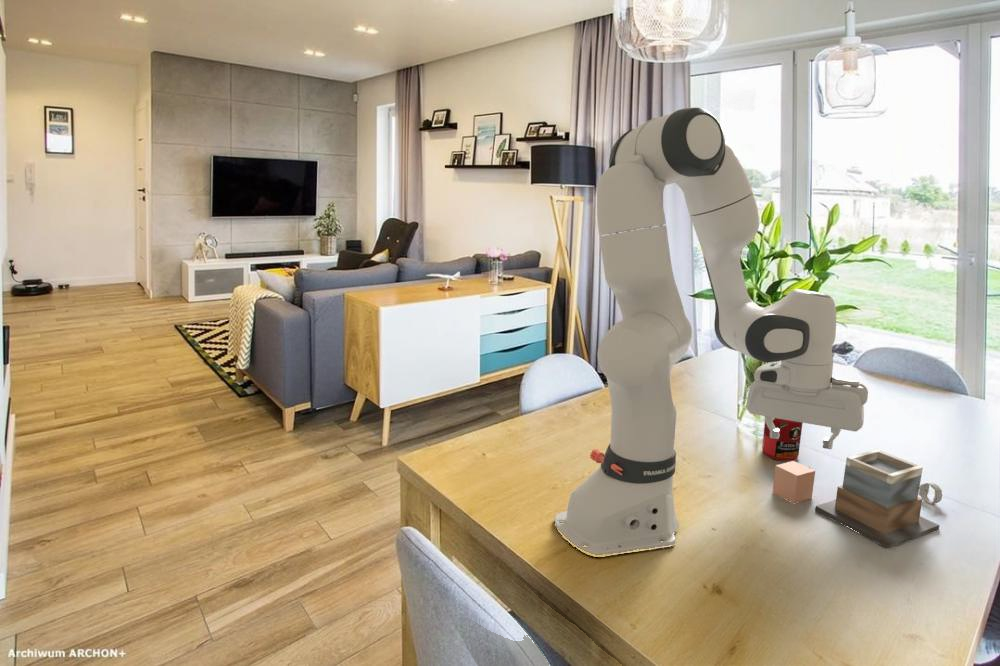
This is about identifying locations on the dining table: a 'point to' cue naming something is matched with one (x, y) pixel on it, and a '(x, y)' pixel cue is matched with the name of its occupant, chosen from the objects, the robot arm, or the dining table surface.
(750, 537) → the dining table surface
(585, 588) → the dining table surface
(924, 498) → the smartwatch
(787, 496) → the light orange block
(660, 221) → the robot arm
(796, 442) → the canned food
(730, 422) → the dining table surface
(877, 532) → the stacked open-top box
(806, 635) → the dining table surface
